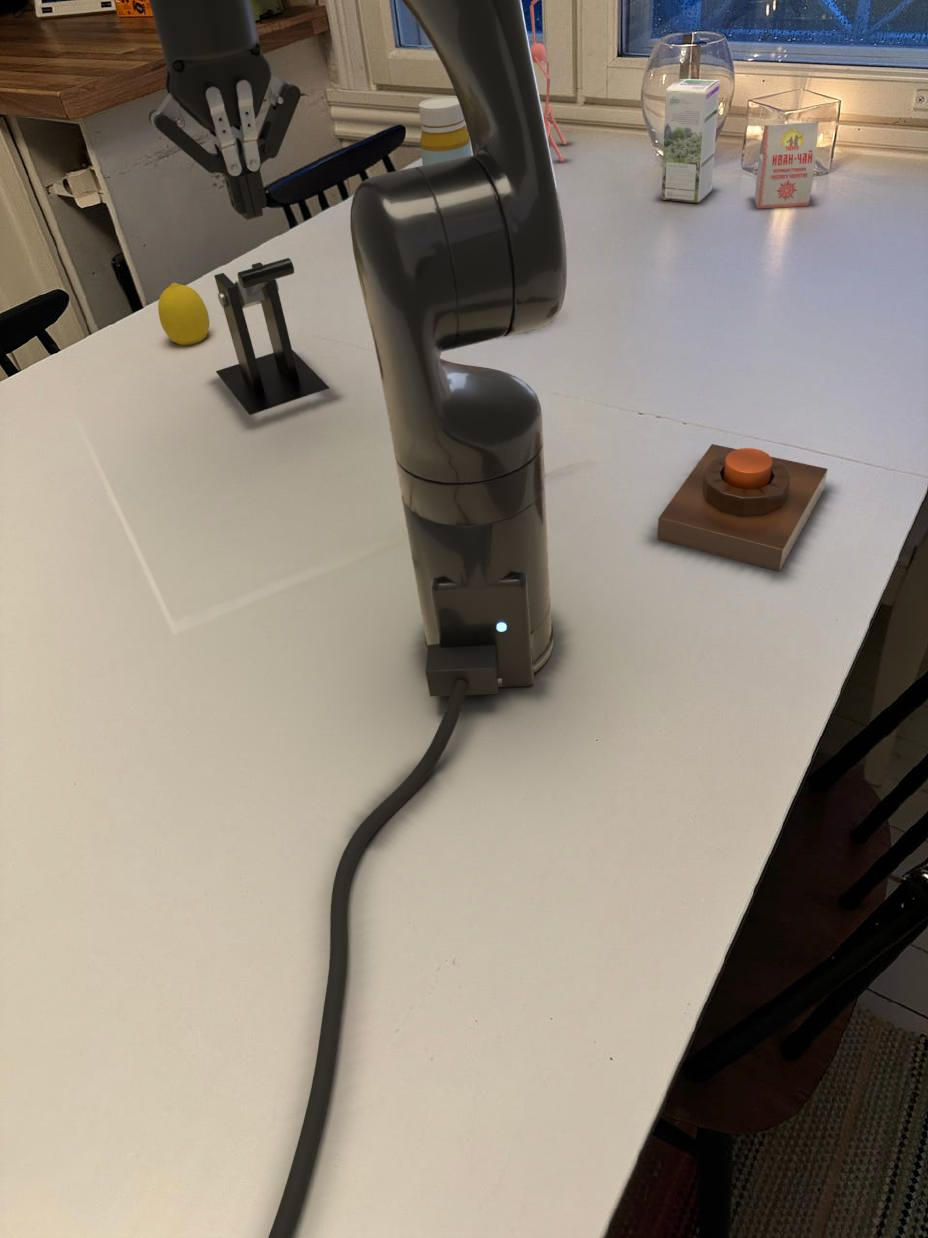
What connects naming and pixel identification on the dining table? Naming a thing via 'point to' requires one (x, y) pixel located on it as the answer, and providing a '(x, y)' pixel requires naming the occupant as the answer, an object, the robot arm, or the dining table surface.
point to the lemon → (183, 315)
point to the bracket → (269, 374)
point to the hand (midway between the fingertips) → (252, 215)
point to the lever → (260, 280)
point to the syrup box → (689, 139)
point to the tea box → (786, 165)
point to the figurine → (538, 56)
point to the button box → (742, 511)
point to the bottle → (443, 130)
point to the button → (747, 468)
